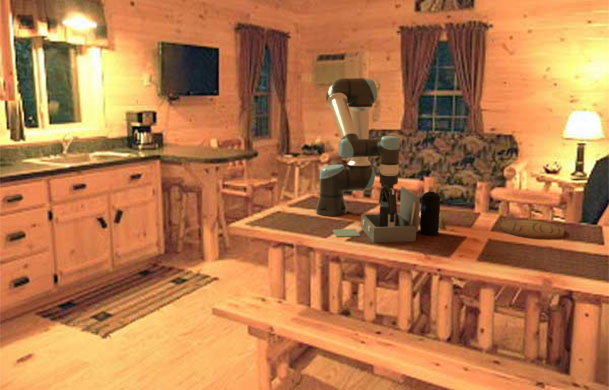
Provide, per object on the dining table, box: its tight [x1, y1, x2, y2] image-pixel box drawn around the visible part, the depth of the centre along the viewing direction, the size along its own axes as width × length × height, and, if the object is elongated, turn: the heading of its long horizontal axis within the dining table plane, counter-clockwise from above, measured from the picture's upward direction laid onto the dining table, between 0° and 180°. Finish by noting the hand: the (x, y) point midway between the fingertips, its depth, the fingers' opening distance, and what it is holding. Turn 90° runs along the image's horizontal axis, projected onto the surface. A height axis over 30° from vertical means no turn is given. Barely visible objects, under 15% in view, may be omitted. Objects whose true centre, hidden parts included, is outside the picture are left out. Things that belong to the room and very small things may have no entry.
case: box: [360, 186, 421, 244], centre depth 214 cm, size 22×19×18 cm
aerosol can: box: [418, 185, 442, 237], centre depth 215 cm, size 8×8×20 cm
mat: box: [332, 228, 361, 238], centre depth 217 cm, size 10×10×1 cm
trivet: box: [500, 219, 565, 240], centre depth 220 cm, size 25×25×2 cm
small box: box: [379, 201, 389, 227], centre depth 215 cm, size 11×6×10 cm, turn 168°
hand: (387, 225), depth 216 cm, fingers closed on small box, 11 cm apart
